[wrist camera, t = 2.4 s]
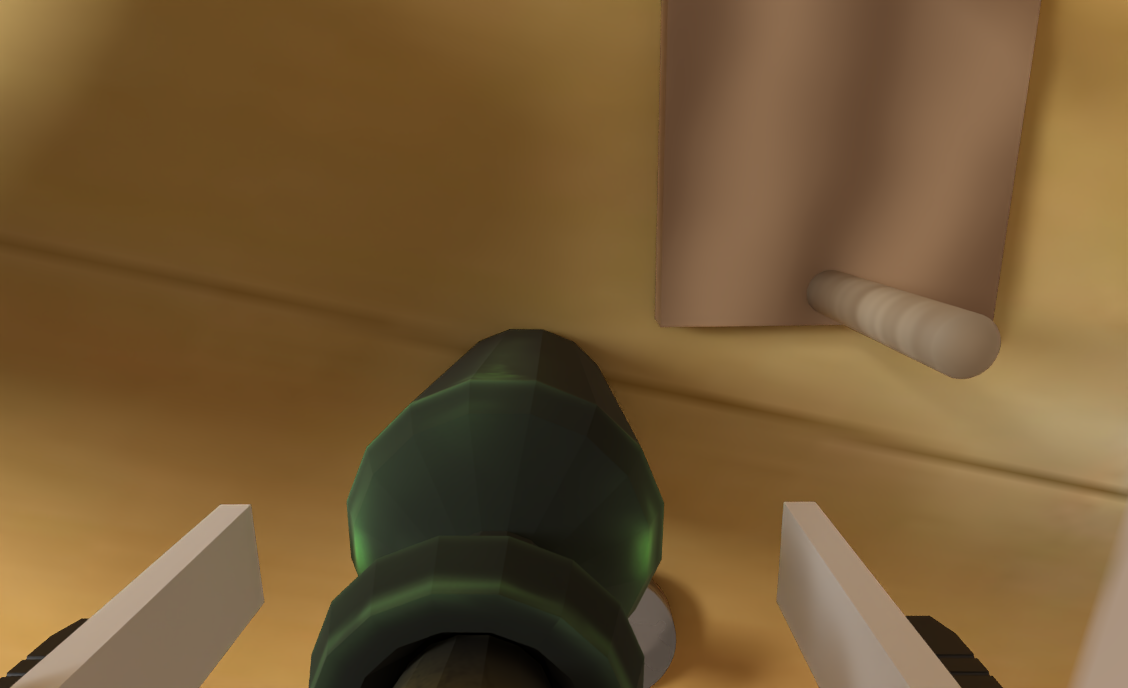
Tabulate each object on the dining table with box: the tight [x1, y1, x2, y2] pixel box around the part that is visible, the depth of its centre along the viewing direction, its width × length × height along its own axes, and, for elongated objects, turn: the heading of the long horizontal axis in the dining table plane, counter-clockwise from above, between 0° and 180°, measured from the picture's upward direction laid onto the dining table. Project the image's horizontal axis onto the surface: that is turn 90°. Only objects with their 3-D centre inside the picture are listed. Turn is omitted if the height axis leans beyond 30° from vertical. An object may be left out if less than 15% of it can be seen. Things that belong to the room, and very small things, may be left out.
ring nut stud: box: [628, 579, 676, 688], centre depth 25 cm, size 6×6×5 cm
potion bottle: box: [309, 329, 664, 688], centre depth 17 cm, size 8×8×18 cm
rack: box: [655, 0, 1041, 379], centre depth 18 cm, size 12×15×10 cm
